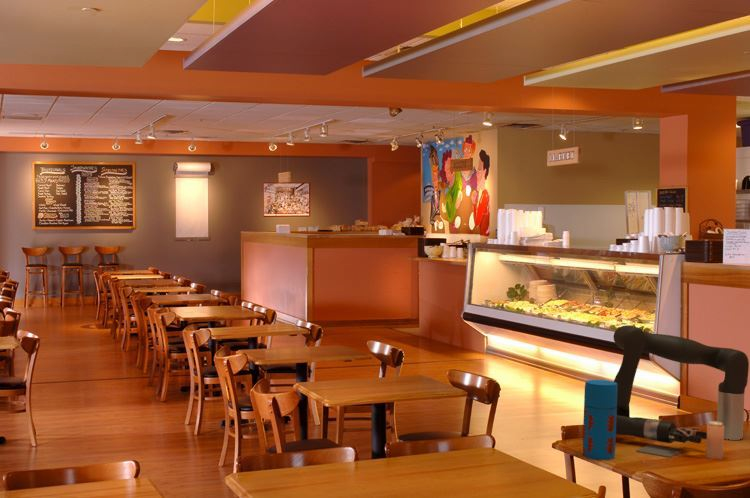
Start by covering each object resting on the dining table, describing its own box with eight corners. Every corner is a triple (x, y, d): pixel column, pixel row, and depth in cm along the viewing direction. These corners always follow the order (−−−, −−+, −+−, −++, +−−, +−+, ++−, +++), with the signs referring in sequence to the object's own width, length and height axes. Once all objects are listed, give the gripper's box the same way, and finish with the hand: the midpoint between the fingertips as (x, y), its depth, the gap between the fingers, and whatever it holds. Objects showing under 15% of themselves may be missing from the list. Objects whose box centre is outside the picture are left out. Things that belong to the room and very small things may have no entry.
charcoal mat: (649, 445, 339) (649, 444, 339) (682, 451, 332) (682, 450, 332) (636, 451, 330) (636, 450, 330) (669, 457, 322) (669, 456, 322)
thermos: (612, 452, 327) (615, 380, 326) (617, 460, 316) (620, 385, 316) (580, 451, 328) (583, 379, 327) (584, 458, 317) (586, 384, 317)
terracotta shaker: (709, 454, 329) (710, 420, 329) (725, 457, 325) (726, 422, 325) (703, 457, 325) (704, 422, 324) (719, 460, 321) (721, 424, 321)
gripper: (652, 423, 331) (698, 430, 321) (667, 417, 342) (712, 424, 332) (651, 444, 331) (697, 452, 321) (666, 437, 343) (712, 445, 333)
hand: (705, 438), depth 327 cm, fingers open, 8 cm apart
